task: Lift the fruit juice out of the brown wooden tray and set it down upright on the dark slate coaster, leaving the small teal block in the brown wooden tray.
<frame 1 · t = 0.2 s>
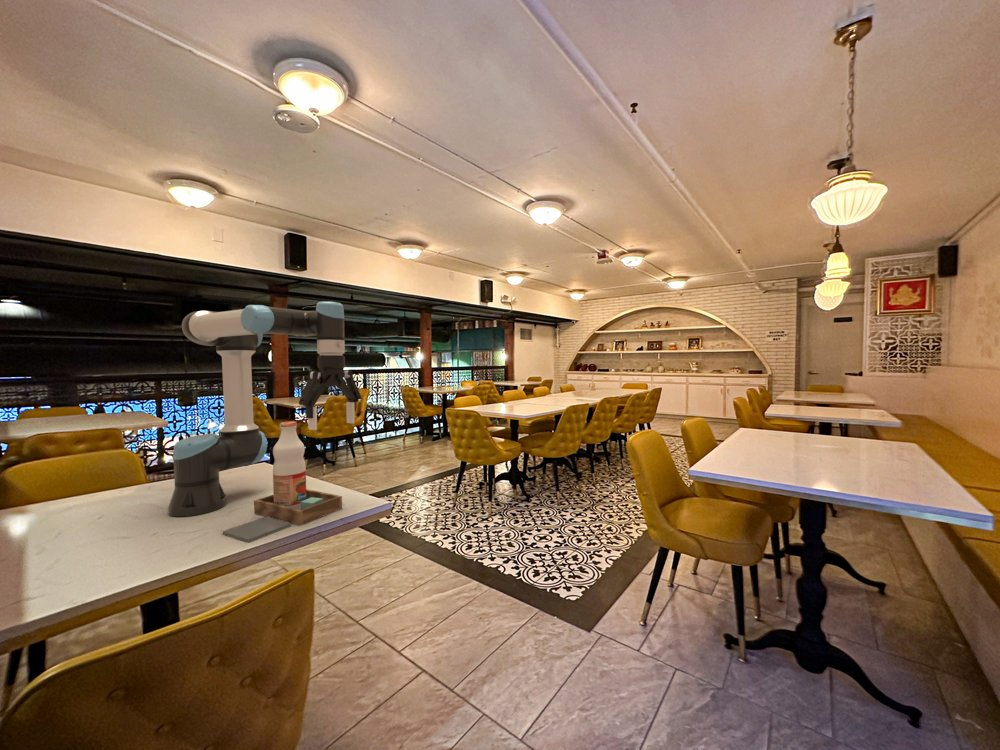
hand: (332, 426, 120), 28 cm above the table, fingers open, 13 cm apart
slate coaster: (257, 530, 113), on the table
brown wooden tray: (298, 510, 128), on the table
teal block: (312, 514, 125), resting in brown wooden tray
fruit juice: (290, 509, 130), resting in brown wooden tray
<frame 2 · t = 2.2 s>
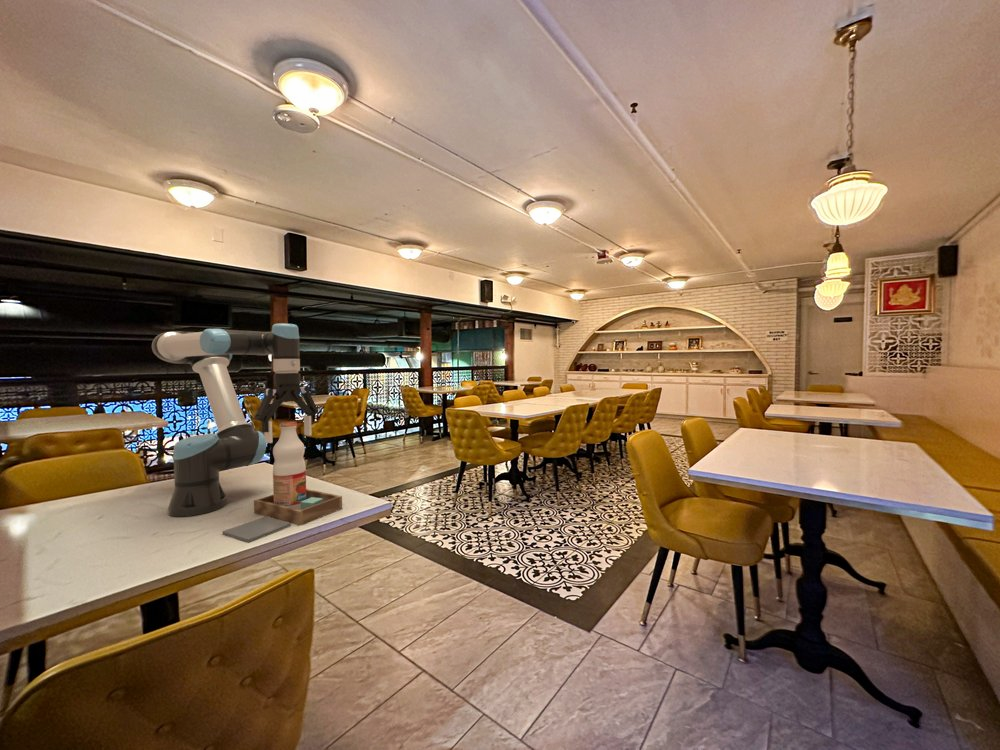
hand: (289, 438, 129), 23 cm above the table, fingers open, 13 cm apart
nothing on the table moved.
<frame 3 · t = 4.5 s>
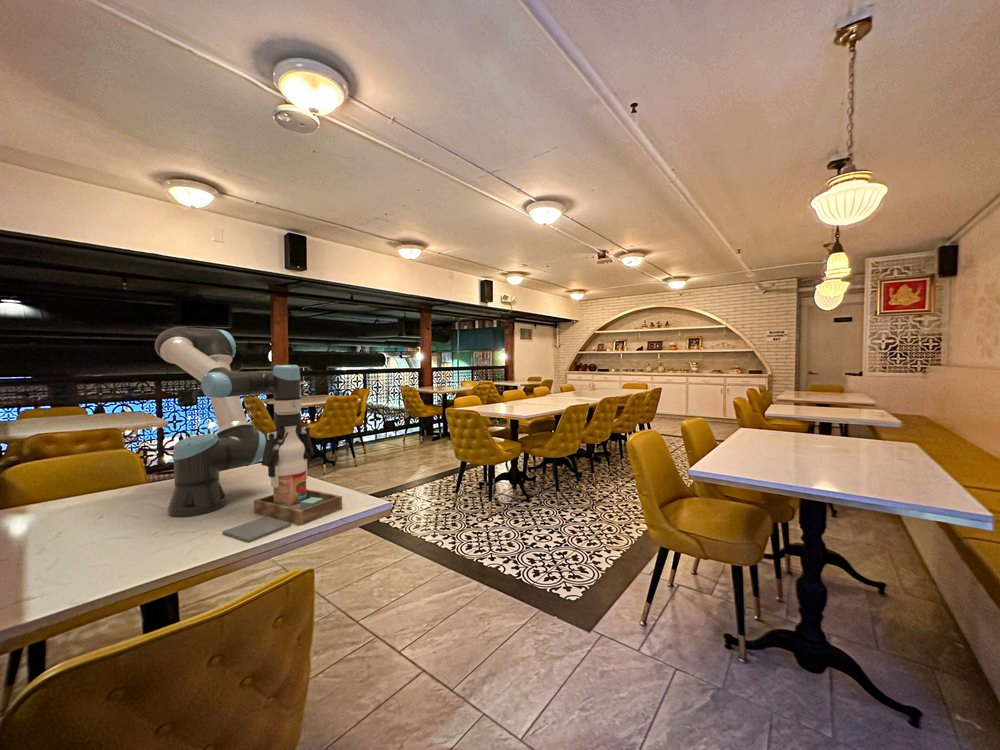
hand: (289, 482, 130), 9 cm above the table, fingers closed on fruit juice, 9 cm apart
fruit juice: (290, 509, 130), resting in brown wooden tray, touching gripper
everything else where it was.
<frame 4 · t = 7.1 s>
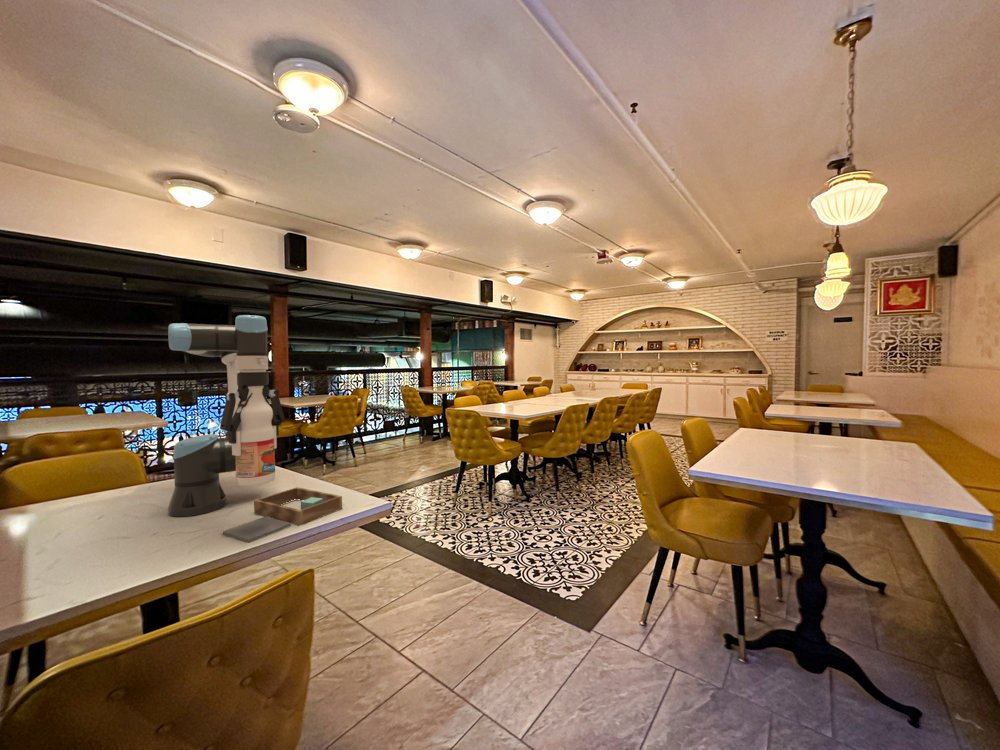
hand: (255, 451, 113), 22 cm above the table, fingers closed on fruit juice, 9 cm apart
fruit juice: (256, 482, 113), point 13 cm above the table, touching gripper
everything else where it was.
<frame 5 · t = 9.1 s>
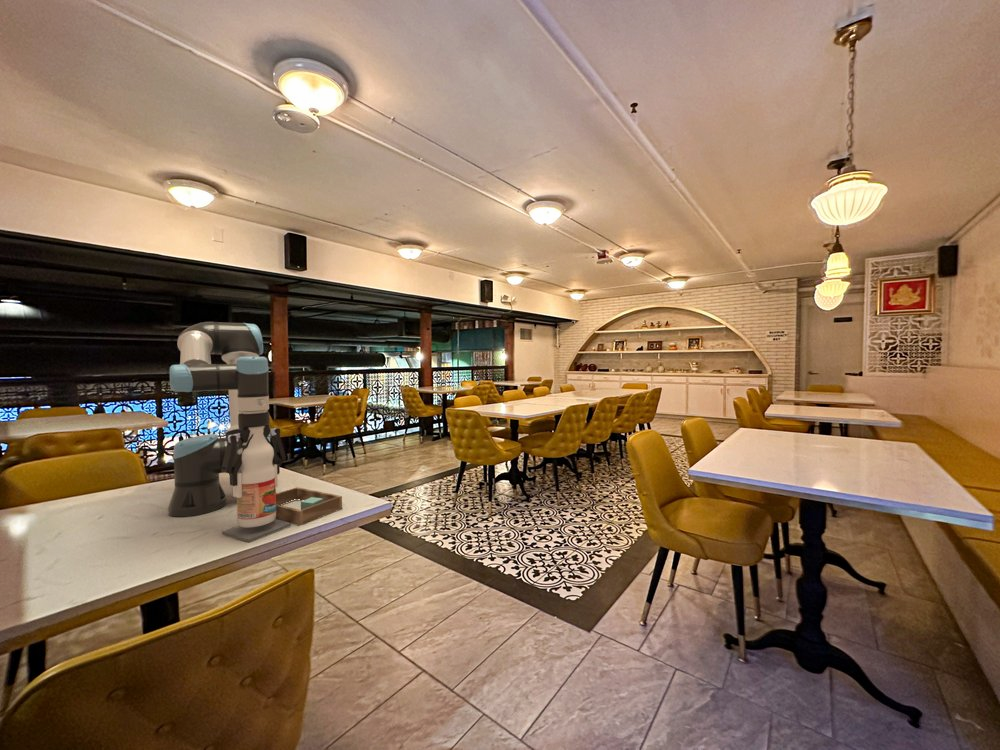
hand: (256, 491, 113), 11 cm above the table, fingers closed on fruit juice, 9 cm apart
fruit juice: (257, 522, 113), point 2 cm above the table, touching gripper
everything else where it was.
when the fingers open (11 cm above the table, at t = 10.0 s): fruit juice drops 1 cm, resting on slate coaster.
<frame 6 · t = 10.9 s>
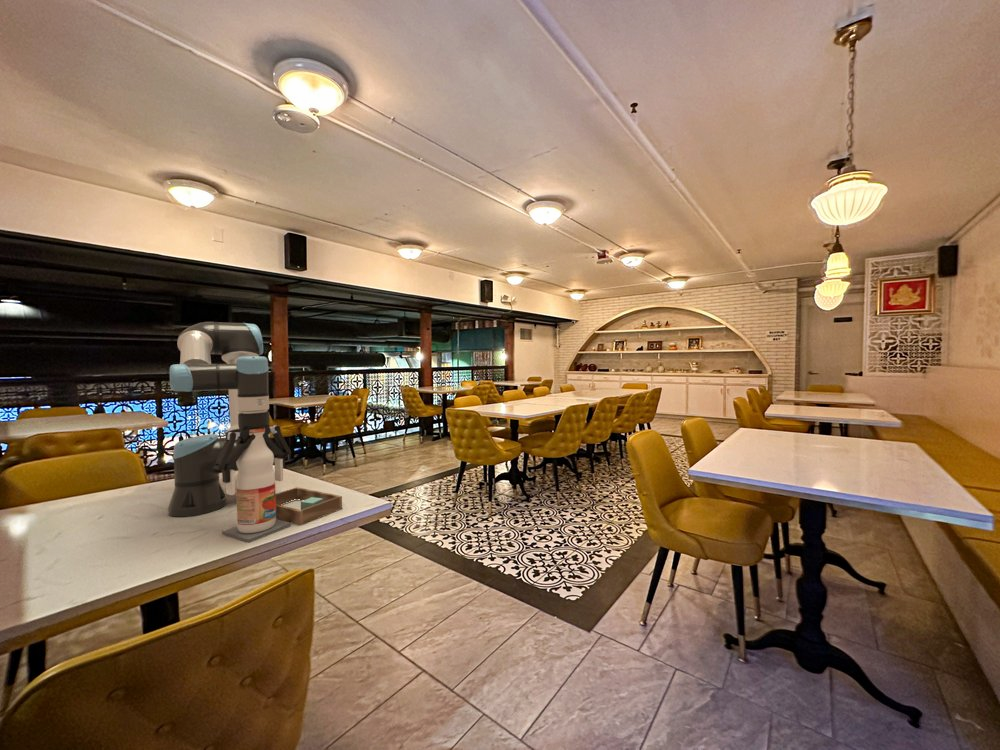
hand: (256, 487, 113), 12 cm above the table, fingers open, 13 cm apart
fruit juice: (257, 527, 113), point 1 cm above the table, touching slate coaster
everything else where it was.
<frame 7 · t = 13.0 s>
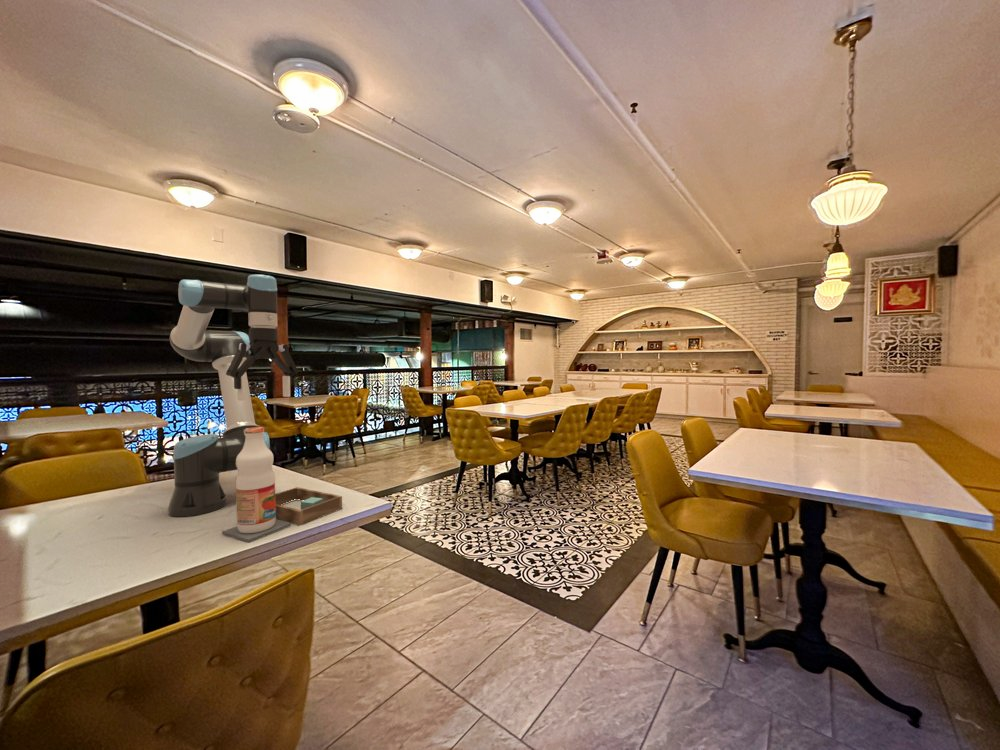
hand: (265, 398, 122), 36 cm above the table, fingers open, 13 cm apart
nothing on the table moved.
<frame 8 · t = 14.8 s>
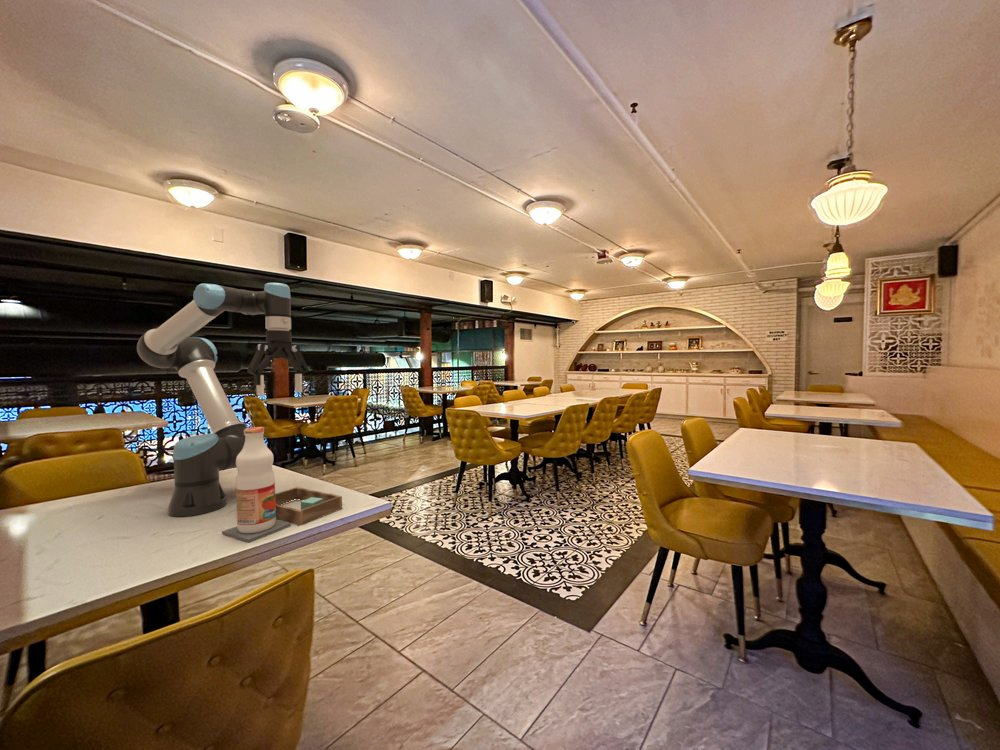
hand: (280, 393, 135), 37 cm above the table, fingers open, 13 cm apart
nothing on the table moved.
at the end: fruit juice inside the target area on the slate coaster (0.1 cm from its centre), point 0.6 cm above the slate coaster's base; fruit juice tilted 0°; fruit juice touching slate coaster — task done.
